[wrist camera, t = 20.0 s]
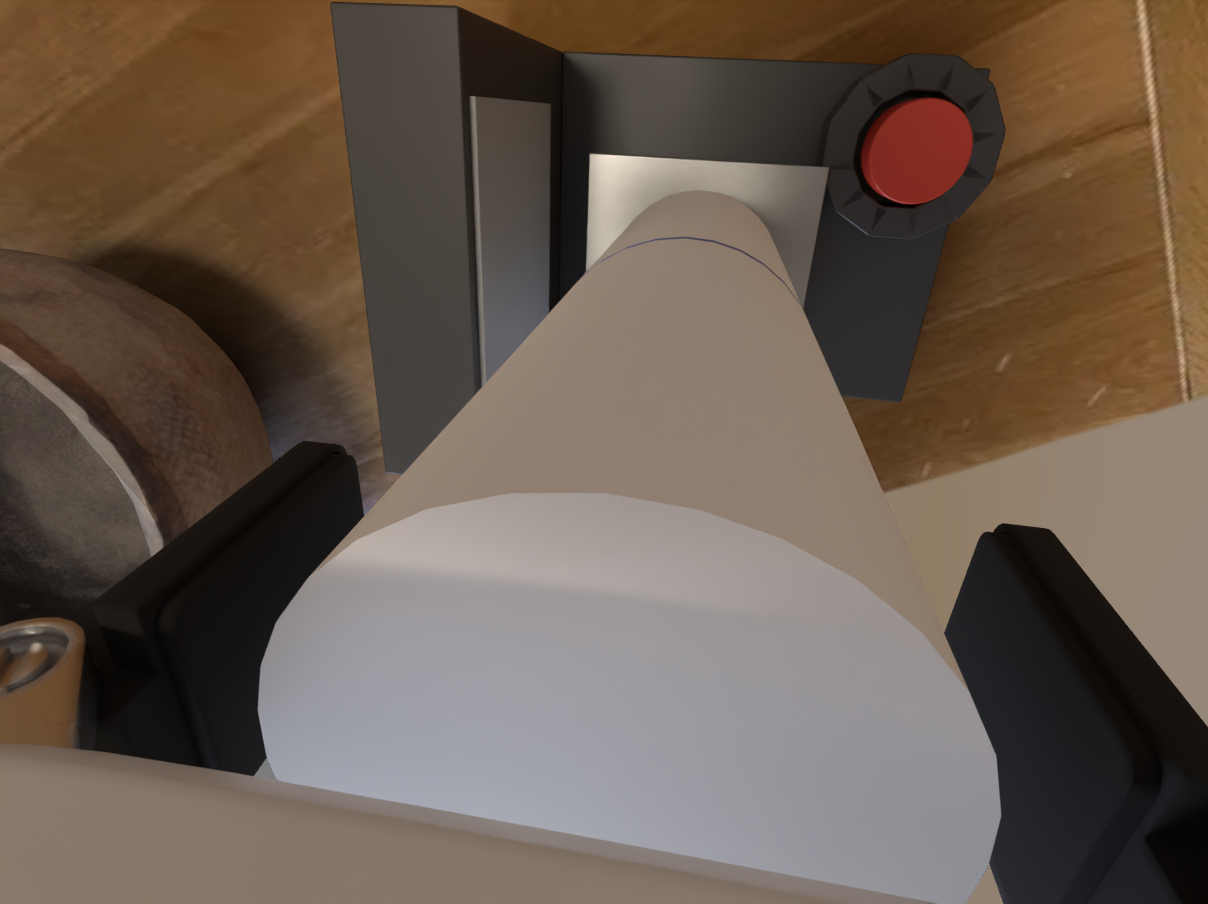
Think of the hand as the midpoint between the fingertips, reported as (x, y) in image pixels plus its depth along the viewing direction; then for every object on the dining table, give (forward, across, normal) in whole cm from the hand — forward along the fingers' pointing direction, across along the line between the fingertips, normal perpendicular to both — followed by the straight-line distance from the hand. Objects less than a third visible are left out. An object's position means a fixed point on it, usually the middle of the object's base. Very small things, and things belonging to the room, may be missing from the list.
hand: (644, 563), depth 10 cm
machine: (+26, -2, -1) cm, 26 cm away
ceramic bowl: (+26, +32, +12) cm, 43 cm away
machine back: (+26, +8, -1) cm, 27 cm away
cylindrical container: (+21, 0, 0) cm, 21 cm away
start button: (+22, -8, -5) cm, 24 cm away
